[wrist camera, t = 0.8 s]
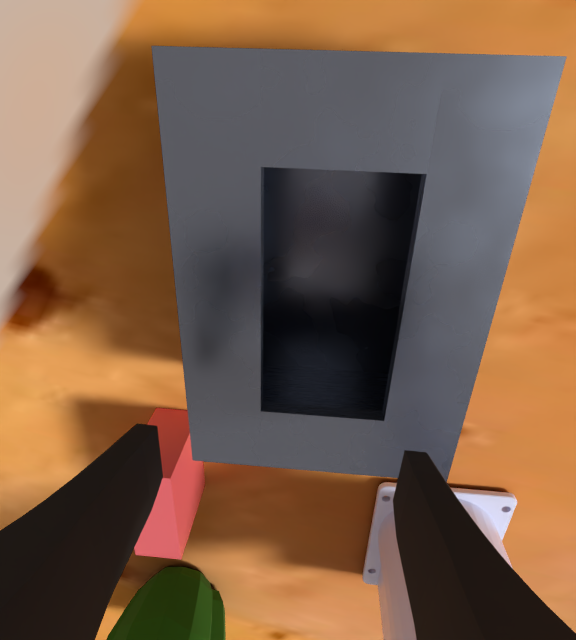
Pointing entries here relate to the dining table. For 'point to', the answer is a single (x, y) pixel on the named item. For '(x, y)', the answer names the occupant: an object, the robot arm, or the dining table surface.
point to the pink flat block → (173, 489)
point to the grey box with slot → (341, 243)
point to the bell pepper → (173, 609)
